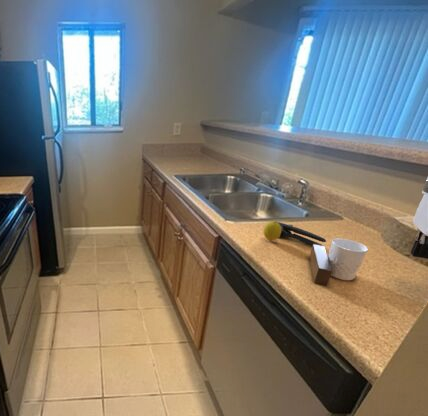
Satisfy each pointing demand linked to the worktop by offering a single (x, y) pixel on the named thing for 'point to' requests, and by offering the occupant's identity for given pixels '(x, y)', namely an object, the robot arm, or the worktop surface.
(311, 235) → the can opener
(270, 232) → the lemon
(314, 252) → the walnut rail
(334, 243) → the white cup
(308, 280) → the worktop surface
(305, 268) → the worktop surface
